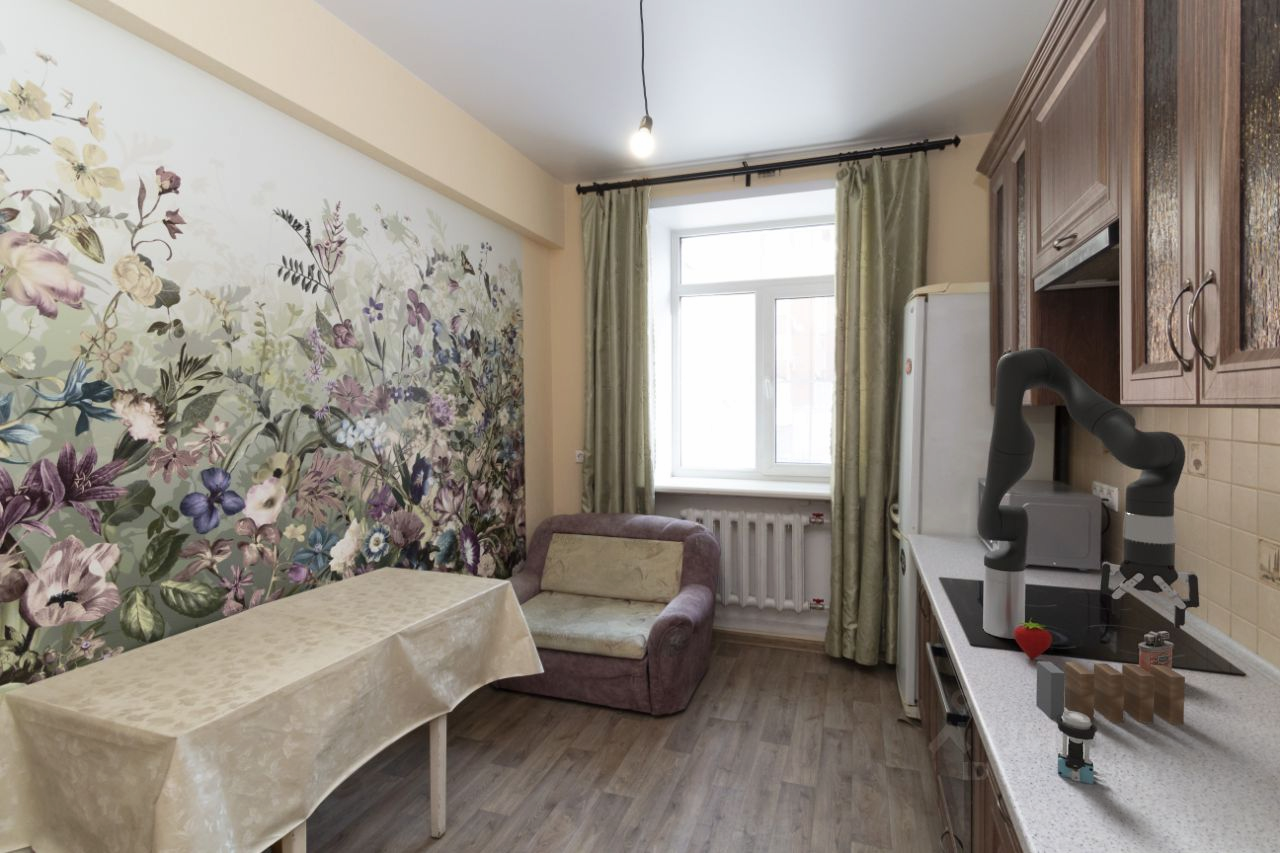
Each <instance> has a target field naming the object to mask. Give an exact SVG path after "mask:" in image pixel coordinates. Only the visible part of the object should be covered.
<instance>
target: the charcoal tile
mask: <svg viewBox="0 0 1280 853" xmlns="http://www.w3.org/2000/svg"><path fill="white" fill-rule="evenodd" d="M1035 704H1036V707H1037V708H1038V709H1039V710H1041V712H1043V713H1044V714H1045V715H1046V717H1048V718H1049V719H1051V720H1056V717H1057V716H1058V715H1060V714H1063V712H1065V707H1064V706H1065V671H1063V670H1061V669H1060V668H1059V667H1058V666H1057V665H1055V664H1054V663H1053V662H1052V661H1042V660H1041V661H1039V660H1037V662H1036V702H1035Z"/></svg>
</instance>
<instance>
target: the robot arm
mask: <svg viewBox="0 0 1280 853" xmlns="http://www.w3.org/2000/svg"><path fill="white" fill-rule="evenodd" d="M994 387H995V388H994V390H995V396H994V402H995V403H994V414H993V425H992V432H991V437H990V442H989V443H990V444H989V449H988V456H987V457H988V458H987V467H986V468H987V470H986V476H985V483H984V484H985V485H984V488H983V492H982V493H983V494H982V498H981V501H980V505H979V508H978V509H979V510H978V515H977V524H976V525H977V531H978V534H979V536H980V537H981V538H982V539H983V540H986V541H992V542H1007V543H1006V545H1004V546H1003V547H1001V548H999V549H995V550H992V551H989V552H987V553H985V554H984V556H983V601H982V602H983V605H982V606H983V608H982V610H983V614H982V615H983V617H982V629H984V630H983V631H984V632H985V633H987V634H990V635H991V636H994V637H998V638H1002V639H1003V638H1004V639H1010V640H1011V639H1013V640H1016V639H1015V636H1014V631H1015V628H1017V627H1018V626H1024V624H1021V623H1026V622H1025V620H1026V618H1025V617H1026V615H1025V612H1026V563H1027V555H1028V554H1027V551H1028V549H1027V548H1028V536H1029V516H1028V512H1027V510H1026V509H1025V507H1023V506H1020V505H1014V504H1013V505H1010V504H1007V505H1006V504H1001V502H1002V500H1003V498H1004V497H1005V495H1006V494H1007V492H1009V490H1010V489H1011V488H1013V487H1014V486H1015V485H1016V484H1017V483H1018V482H1020V480H1021V479H1022V478H1024V476H1026V474H1027V473H1028V472H1029V470H1030V468H1031V466H1032V464H1033V459H1034V453H1035V447H1036V439H1035V436H1034V433H1033V432H1032V430H1031V428H1030V426H1029V424H1028V423H1027V421H1026V419H1025V416H1024V415H1023V401H1024V397H1025V394H1026V393H1025V392H1026V391H1030V390H1034V389H1035V390H1036V389H1038V388H1043V387H1044V388H1046V389H1049V390H1050V391H1053V392H1055V393H1056V394H1057V395H1060V396H1061V398H1062V400H1063V401H1064V403H1065V406H1066V407H1065V408H1066V410H1067V412H1068V414H1069V416H1070V418H1071V419H1073V421H1074V422H1075V423H1076V424H1077V425H1079V426H1080V427H1082V428H1083V429H1084V430H1085V431H1087V432H1088V433H1090V434H1091V435H1093V436H1094V437H1096V439H1099V440H1100V441H1101V443H1102V444H1103V446H1104V447H1105V448H1106V449H1107V450H1108V451H1109V452H1110V454H1111V455H1112V456H1113V457H1114V458H1115V460H1117V461H1118V462H1119V463H1121V464H1122V465H1124V466H1126V467H1128V468H1130V469H1134V470H1141V473H1140V475H1139V478H1138V479H1136V480H1135V481H1133V482H1130V483H1128V485H1127V486H1126V489H1125V508H1124V510H1125V512H1124V513H1125V514H1124V519H1123V524H1122V526H1123V528H1122V537H1123V538H1122V562H1121V564H1114V563H1111V562H1109V561H1106V560H1105V561H1103V562H1102V568H1101V579H1100V589H1099V592H1100V593H1101V594H1103V595H1106V596H1109V598H1110V599H1111V613H1112V615H1115V618H1116V619H1121V614H1122V611H1121V610H1122V609H1121V608H1122V597H1123V595H1125V594H1126V593H1128V592H1130V590H1131V589H1135V590H1137V591H1142V592H1144V591H1145V592H1146V591H1148V592H1152V593H1154V594H1155V593H1156V594H1159V593H1162V592H1164V594H1166V596H1167V597H1168V598H1169V599H1170V600H1171V601H1172V602H1173V603H1174V604H1175V605H1173V606H1174V607H1173V626H1174V629H1180V628H1181V626H1182V627H1184V626H1185V624H1186V610H1187V609H1188V608H1195V609H1196V608H1198V607H1200V595H1199V594H1200V592H1199V578H1198V575H1197V573H1195V572H1194V571H1189V572H1179V571H1178V572H1177V570H1176V567H1175V566H1176V524H1175V523H1176V522H1175V516H1174V515H1175V493H1176V490H1177V487H1178V484H1179V482H1180V480H1181V476H1182V472H1183V471H1184V470H1183V469H1184V466H1185V461H1186V449H1185V446H1184V444H1183V441H1182V440H1181V439H1180V437H1179V436H1177V435H1176V434H1174V433H1172V432H1168V431H1162V430H1161V431H1142V430H1139V429H1138V428H1136V424H1137V423H1136V419H1135V417H1134V416H1133V415H1132V414H1131V413H1129V412H1128V411H1127V410H1125V409H1123V408H1122V407H1121V406H1119V405H1118V404H1116V403H1114V402H1113V401H1112V400H1109V399H1108V398H1106V397H1105V396H1103V395H1101V394H1100V393H1099V392H1097V391H1096V390H1095V389H1093V388H1092V387H1091V386H1090V385H1089V384H1087V383H1086V382H1085V381H1084V380H1083V379H1082V378H1081V377H1080V376H1078V374H1076V372H1074V371H1073V370H1072V369H1071V368H1070V367H1069V366H1067V364H1066V363H1065V362H1063V361H1062V360H1061V359H1060V358H1059V357H1058V356H1057V355H1056V354H1054V353H1053V352H1051V351H1050V350H1048V349H1046V348H1043V347H1033V348H1031V347H1030V348H1025V349H1020V350H1015V351H1011V352H1008V353H1006V354H1004V355H1003V356H1001V357H1000V359H999V360H998V363H997V367H996V371H995V385H994ZM1116 572H1120V574H1121V575H1122V576H1123V578H1124V579H1123V580H1122V582H1120V583H1119V585H1117V586H1116V587H1115V588H1114V589H1113V588H1111V587H1109V584H1110V576H1114V575H1116ZM1178 579H1180V580H1181V581H1182V583H1183V585H1186V586H1188V589H1187V590H1188V598H1184V599H1183V598H1182V597H1181V596H1180V595H1179V593H1178V592H1177V591H1176V590H1175V589H1174V587H1173V586H1172V585H1173V583H1175V582H1176V581H1177V580H1178ZM1019 622H1021V623H1019Z"/></svg>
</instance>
